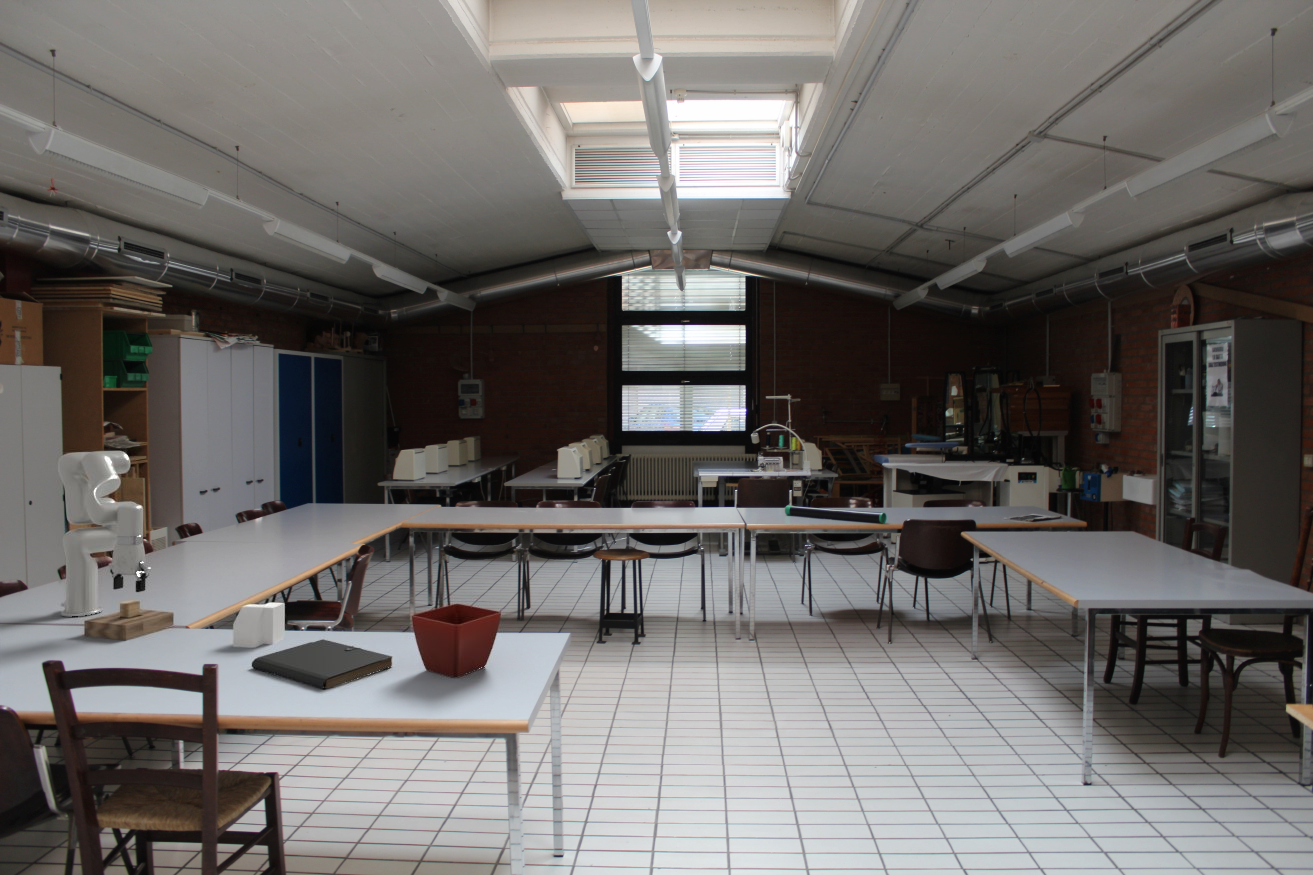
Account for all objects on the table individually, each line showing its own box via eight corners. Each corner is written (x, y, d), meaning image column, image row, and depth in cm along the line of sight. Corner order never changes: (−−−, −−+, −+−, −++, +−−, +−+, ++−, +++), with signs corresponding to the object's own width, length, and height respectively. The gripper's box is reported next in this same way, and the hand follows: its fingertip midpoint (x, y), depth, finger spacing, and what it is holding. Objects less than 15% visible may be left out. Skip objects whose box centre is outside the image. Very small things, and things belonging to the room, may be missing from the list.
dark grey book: (393, 655, 234) (322, 678, 214) (393, 668, 234) (322, 693, 214) (323, 637, 251) (251, 658, 230) (323, 650, 251) (251, 671, 231)
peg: (119, 631, 267) (119, 602, 266) (130, 628, 271) (130, 600, 270) (128, 633, 265) (128, 603, 265) (139, 630, 269) (139, 601, 269)
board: (84, 635, 262) (84, 620, 262) (133, 622, 279) (133, 608, 279) (126, 640, 257) (126, 625, 257) (173, 626, 274) (173, 612, 274)
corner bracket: (284, 638, 262) (284, 602, 262) (264, 648, 251) (264, 611, 251) (254, 637, 263) (254, 601, 263) (233, 646, 252) (233, 609, 252)
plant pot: (502, 666, 237) (502, 611, 236) (456, 684, 220) (457, 624, 220) (456, 655, 246) (456, 602, 246) (409, 672, 230) (409, 615, 230)
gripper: (99, 540, 266) (99, 589, 267) (139, 544, 261) (139, 594, 262) (120, 536, 273) (119, 585, 274) (159, 540, 269) (158, 590, 269)
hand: (129, 589), depth 268 cm, fingers open, 9 cm apart
